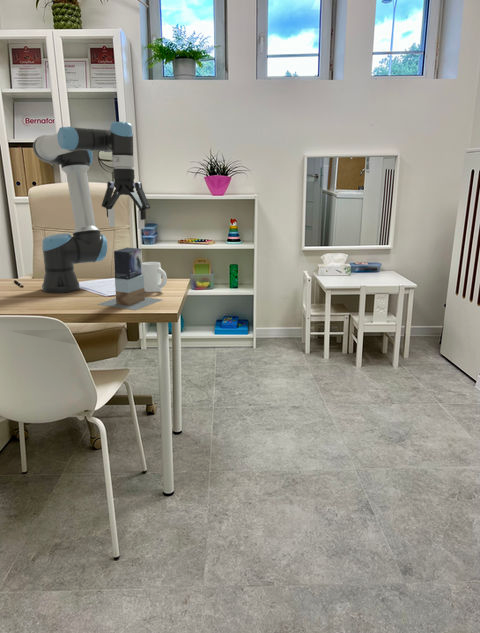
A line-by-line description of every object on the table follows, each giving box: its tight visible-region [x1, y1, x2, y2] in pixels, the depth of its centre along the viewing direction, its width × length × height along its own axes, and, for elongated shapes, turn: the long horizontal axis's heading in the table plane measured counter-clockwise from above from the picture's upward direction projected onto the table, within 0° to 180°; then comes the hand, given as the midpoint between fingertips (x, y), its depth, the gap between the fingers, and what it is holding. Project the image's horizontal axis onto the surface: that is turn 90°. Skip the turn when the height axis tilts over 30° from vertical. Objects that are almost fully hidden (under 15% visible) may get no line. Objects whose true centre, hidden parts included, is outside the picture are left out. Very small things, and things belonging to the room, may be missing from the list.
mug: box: [141, 261, 168, 293], centre depth 205 cm, size 8×12×12 cm
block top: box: [114, 275, 144, 293], centre depth 185 cm, size 6×10×5 cm, turn 155°
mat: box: [97, 296, 164, 311], centre depth 187 cm, size 18×18×1 cm
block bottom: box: [115, 288, 146, 306], centre depth 186 cm, size 6×10×5 cm, turn 155°
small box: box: [113, 247, 142, 279], centre depth 183 cm, size 11×6×10 cm, turn 165°
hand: (126, 227), depth 179 cm, fingers open, 13 cm apart
